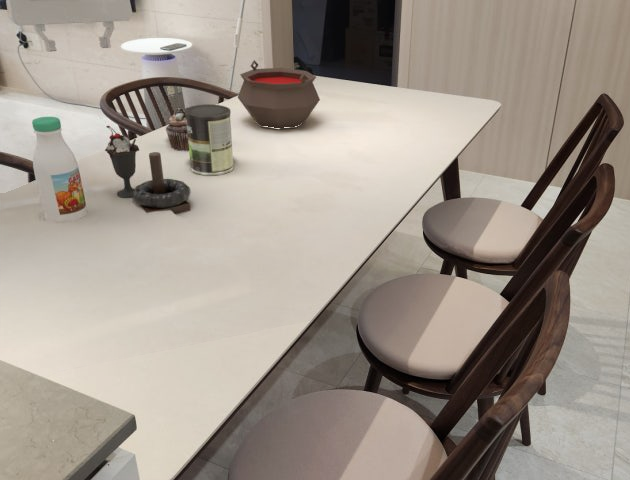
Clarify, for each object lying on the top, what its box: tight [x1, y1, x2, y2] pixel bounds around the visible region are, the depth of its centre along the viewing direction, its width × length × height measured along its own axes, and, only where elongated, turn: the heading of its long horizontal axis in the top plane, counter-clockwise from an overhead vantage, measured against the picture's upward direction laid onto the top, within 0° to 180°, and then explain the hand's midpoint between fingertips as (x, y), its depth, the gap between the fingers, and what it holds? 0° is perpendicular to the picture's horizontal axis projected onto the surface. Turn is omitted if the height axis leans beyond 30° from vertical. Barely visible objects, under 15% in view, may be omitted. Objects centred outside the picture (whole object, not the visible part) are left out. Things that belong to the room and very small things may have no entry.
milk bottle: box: [31, 116, 88, 223], centre depth 120 cm, size 8×8×20 cm
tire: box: [133, 178, 192, 208], centre depth 131 cm, size 11×11×3 cm
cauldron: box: [237, 59, 321, 128], centre depth 185 cm, size 24×24×16 cm
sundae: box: [104, 125, 140, 199], centre depth 134 cm, size 7×7×15 cm
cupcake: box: [165, 106, 189, 151], centre depth 164 cm, size 10×10×10 cm
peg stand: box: [131, 151, 191, 214], centre depth 129 cm, size 9×9×12 cm
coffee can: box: [184, 103, 235, 176], centre depth 150 cm, size 10×10×14 cm
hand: (79, 49), depth 115 cm, fingers open, 8 cm apart
